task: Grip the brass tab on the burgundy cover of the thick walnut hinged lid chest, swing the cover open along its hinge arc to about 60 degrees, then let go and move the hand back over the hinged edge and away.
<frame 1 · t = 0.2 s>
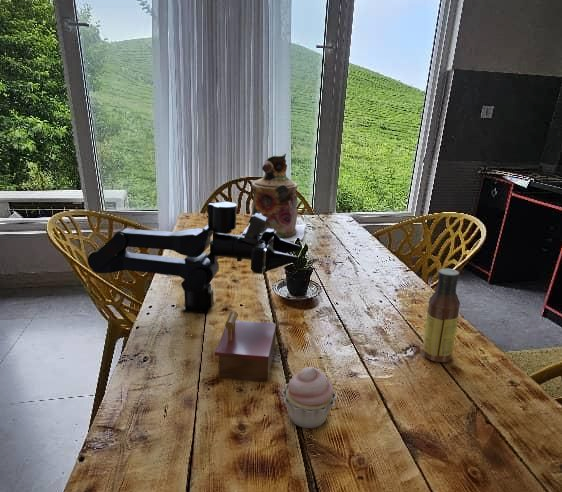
hand: (299, 253, 106), 17 cm above the table, tool horizontal, fingers open, 9 cm apart
cookie jar: (273, 235, 179), on the table
sauce bottle: (435, 356, 97), on the table
cover: (247, 329, 90), point 7 cm above the table, hinge at 0.0°
hinged lid chest: (248, 360, 93), on the table
cupcake: (308, 417, 77), on the table
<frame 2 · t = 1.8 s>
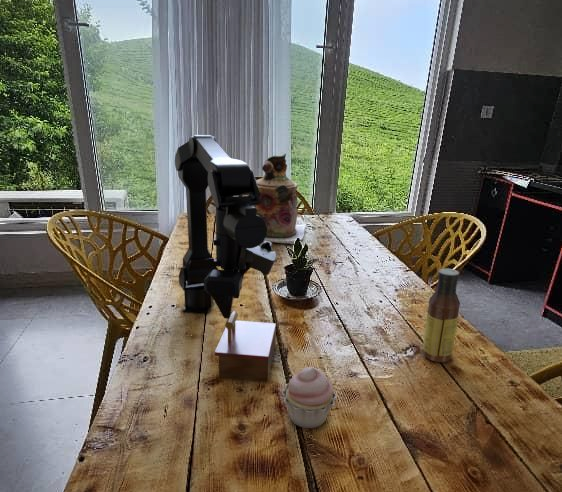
hand: (231, 307, 88), 12 cm above the table, tool pointing down, fingers open, 9 cm apart
nothing on the table moved.
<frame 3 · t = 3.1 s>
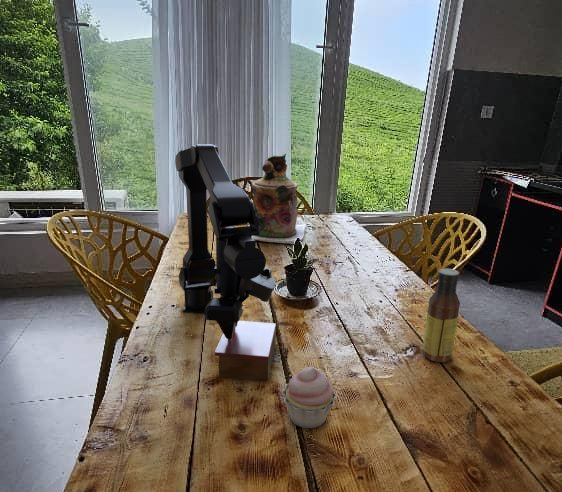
hand: (231, 332, 90), 6 cm above the table, tool pointing down, fingers closed on cover, 5 cm apart
cover: (247, 329, 90), point 7 cm above the table, hinge at 0.0°, touching gripper
everything else where it was.
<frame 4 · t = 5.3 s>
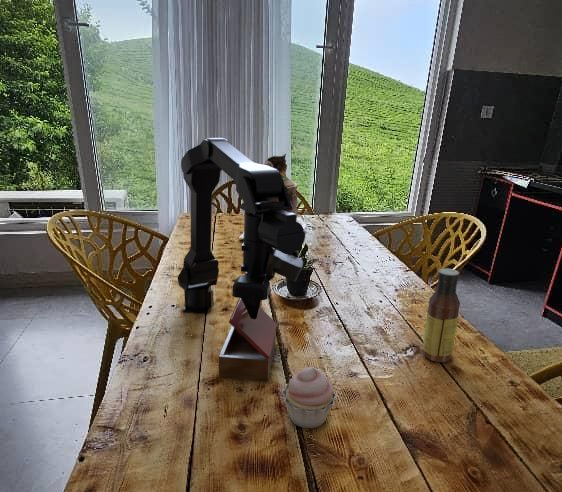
hand: (255, 312, 88), 11 cm above the table, tool pointing down, fingers closed on cover, 5 cm apart
cover: (262, 316, 88), point 10 cm above the table, hinge at 45.0°, touching gripper
everything else where it was.
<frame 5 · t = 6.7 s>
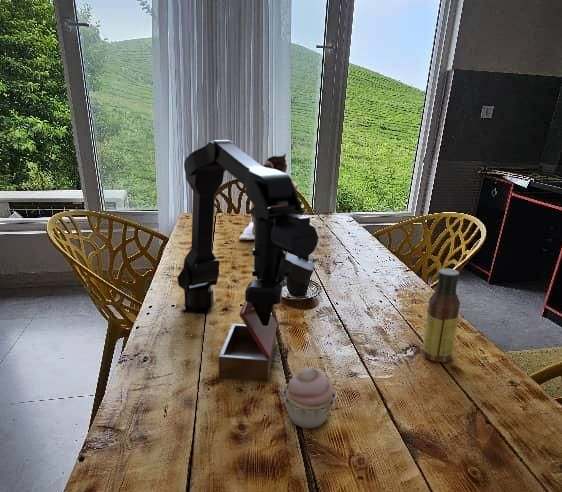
hand: (267, 316, 88), 11 cm above the table, tool pointing down, fingers open, 7 cm apart
cover: (269, 315, 88), point 11 cm above the table, hinge at 59.5°
everything else where it was.
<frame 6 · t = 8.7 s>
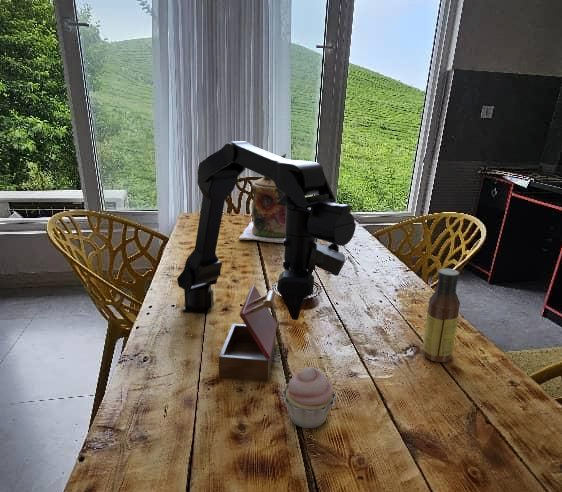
hand: (296, 309, 87), 13 cm above the table, tool pointing down, fingers open, 9 cm apart
nothing on the table moved.
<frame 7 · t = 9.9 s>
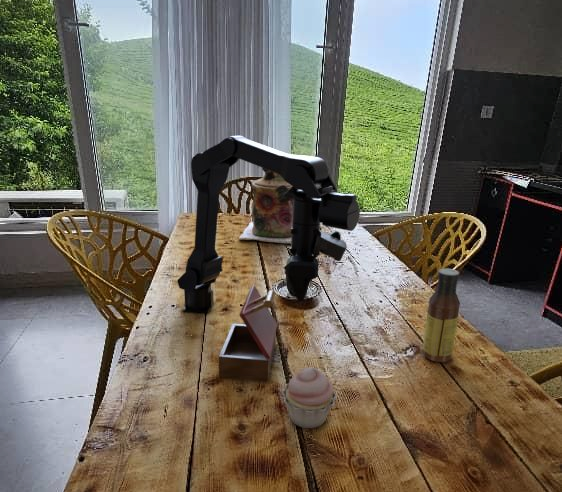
hand: (301, 292, 96), 12 cm above the table, tool pointing down, fingers open, 9 cm apart
nothing on the table moved.
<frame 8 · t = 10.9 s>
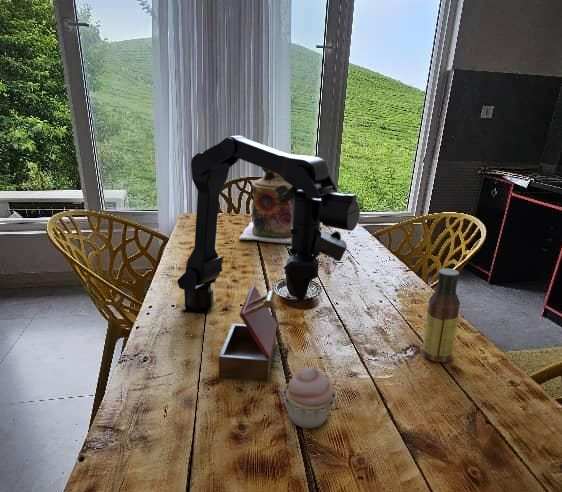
hand: (301, 292, 96), 12 cm above the table, tool pointing down, fingers open, 9 cm apart
nothing on the table moved.
at the end: cover at +60° (first picture: +0°); the gripper is holding nothing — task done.
